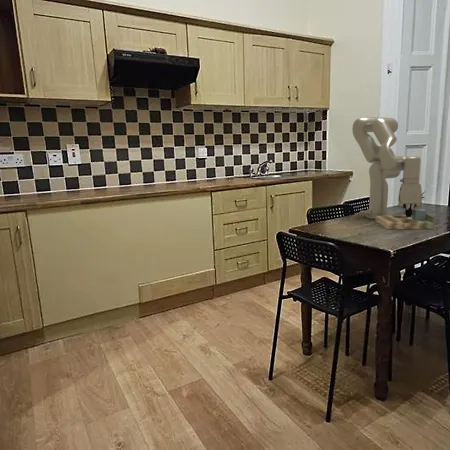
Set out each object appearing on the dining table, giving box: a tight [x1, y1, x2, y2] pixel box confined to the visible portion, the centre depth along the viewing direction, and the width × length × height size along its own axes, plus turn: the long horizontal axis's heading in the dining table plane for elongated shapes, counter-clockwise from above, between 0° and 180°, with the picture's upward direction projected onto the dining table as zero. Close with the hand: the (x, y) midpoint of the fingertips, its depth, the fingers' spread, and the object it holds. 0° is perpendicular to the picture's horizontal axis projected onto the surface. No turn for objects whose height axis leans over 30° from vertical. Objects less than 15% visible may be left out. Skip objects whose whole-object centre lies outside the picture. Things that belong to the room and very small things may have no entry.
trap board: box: [374, 212, 436, 230], centre depth 192 cm, size 22×20×6 cm
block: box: [412, 208, 428, 220], centre depth 190 cm, size 5×5×5 cm
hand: (408, 216), depth 191 cm, fingers closed
